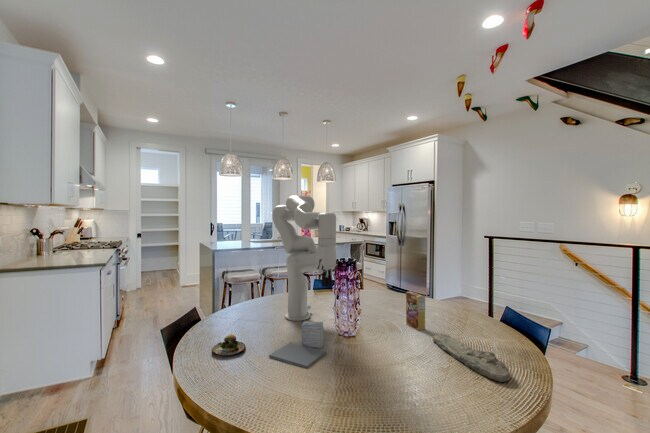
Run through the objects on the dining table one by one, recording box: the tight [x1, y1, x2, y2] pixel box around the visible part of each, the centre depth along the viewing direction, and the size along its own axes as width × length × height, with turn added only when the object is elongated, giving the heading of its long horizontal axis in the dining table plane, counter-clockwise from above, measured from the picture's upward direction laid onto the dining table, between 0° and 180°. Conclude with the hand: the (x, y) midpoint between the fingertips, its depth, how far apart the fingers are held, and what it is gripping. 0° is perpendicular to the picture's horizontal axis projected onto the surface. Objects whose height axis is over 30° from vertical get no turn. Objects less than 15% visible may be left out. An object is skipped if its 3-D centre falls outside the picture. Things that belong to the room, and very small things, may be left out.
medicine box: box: [301, 320, 324, 349], centre depth 122 cm, size 8×4×9 cm, turn 84°
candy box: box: [405, 290, 426, 331], centre depth 143 cm, size 9×4×15 cm, turn 23°
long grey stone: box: [432, 333, 511, 383], centre depth 112 cm, size 35×5×10 cm
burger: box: [211, 328, 247, 356], centre depth 116 cm, size 12×12×8 cm
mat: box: [268, 341, 327, 369], centre depth 113 cm, size 13×16×1 cm
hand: (326, 285), depth 131 cm, fingers closed
